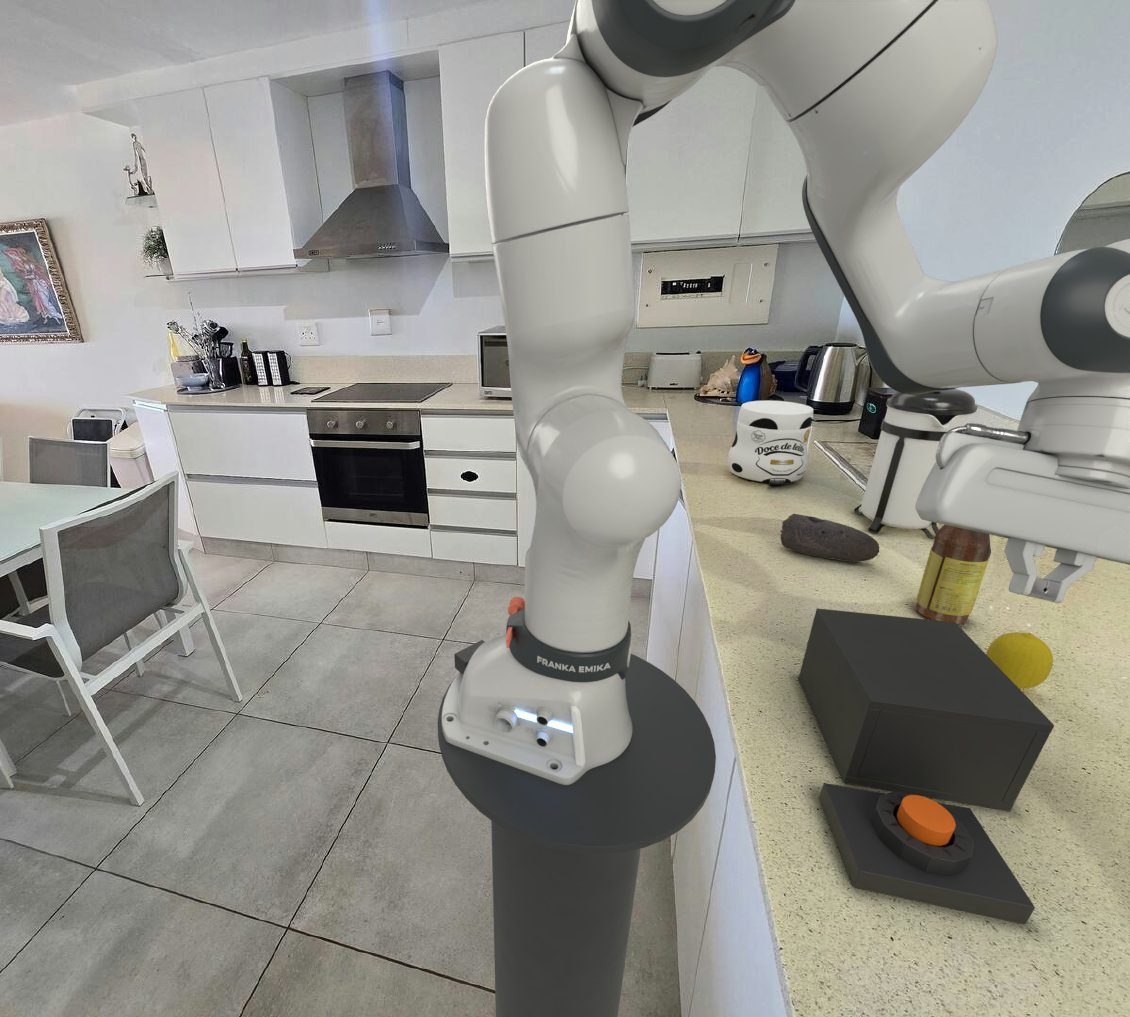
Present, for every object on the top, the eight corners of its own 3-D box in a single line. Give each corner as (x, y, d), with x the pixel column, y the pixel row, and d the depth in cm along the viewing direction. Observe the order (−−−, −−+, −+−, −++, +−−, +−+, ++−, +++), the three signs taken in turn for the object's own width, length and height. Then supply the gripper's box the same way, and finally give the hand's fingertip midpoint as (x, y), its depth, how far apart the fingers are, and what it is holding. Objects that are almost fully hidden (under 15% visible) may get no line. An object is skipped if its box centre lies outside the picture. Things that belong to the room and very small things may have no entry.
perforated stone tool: (875, 560, 97) (885, 525, 94) (874, 573, 93) (885, 536, 90) (779, 541, 105) (786, 508, 102) (775, 551, 101) (782, 518, 99)
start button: (907, 840, 46) (913, 827, 46) (889, 804, 50) (894, 790, 49) (958, 850, 46) (965, 836, 45) (936, 812, 49) (942, 799, 48)
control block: (853, 887, 47) (864, 856, 45) (818, 798, 55) (827, 769, 53) (1025, 925, 43) (1044, 893, 42) (962, 823, 51) (976, 794, 50)
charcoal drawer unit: (797, 679, 70) (816, 608, 66) (926, 696, 66) (955, 622, 62) (843, 783, 56) (871, 700, 52) (1010, 811, 52) (1055, 725, 48)
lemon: (970, 667, 71) (991, 616, 68) (1027, 679, 68) (1052, 626, 65) (984, 694, 66) (1007, 641, 63) (1046, 708, 64) (1073, 653, 61)
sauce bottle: (978, 623, 79) (1029, 497, 71) (945, 630, 78) (993, 503, 70) (931, 599, 85) (974, 481, 77) (900, 606, 84) (940, 486, 76)
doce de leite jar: (775, 495, 126) (791, 419, 118) (710, 475, 140) (720, 406, 132) (818, 480, 133) (835, 408, 126) (752, 462, 147) (764, 396, 140)
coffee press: (964, 531, 105) (1020, 375, 94) (908, 547, 100) (960, 384, 89) (873, 501, 120) (912, 363, 109) (820, 513, 116) (855, 371, 104)
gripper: (972, 413, 45) (921, 571, 47) (1284, 469, 41) (1218, 641, 42) (926, 422, 52) (882, 561, 53) (1193, 471, 47) (1137, 621, 48)
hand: (1033, 597), depth 48 cm, fingers closed
